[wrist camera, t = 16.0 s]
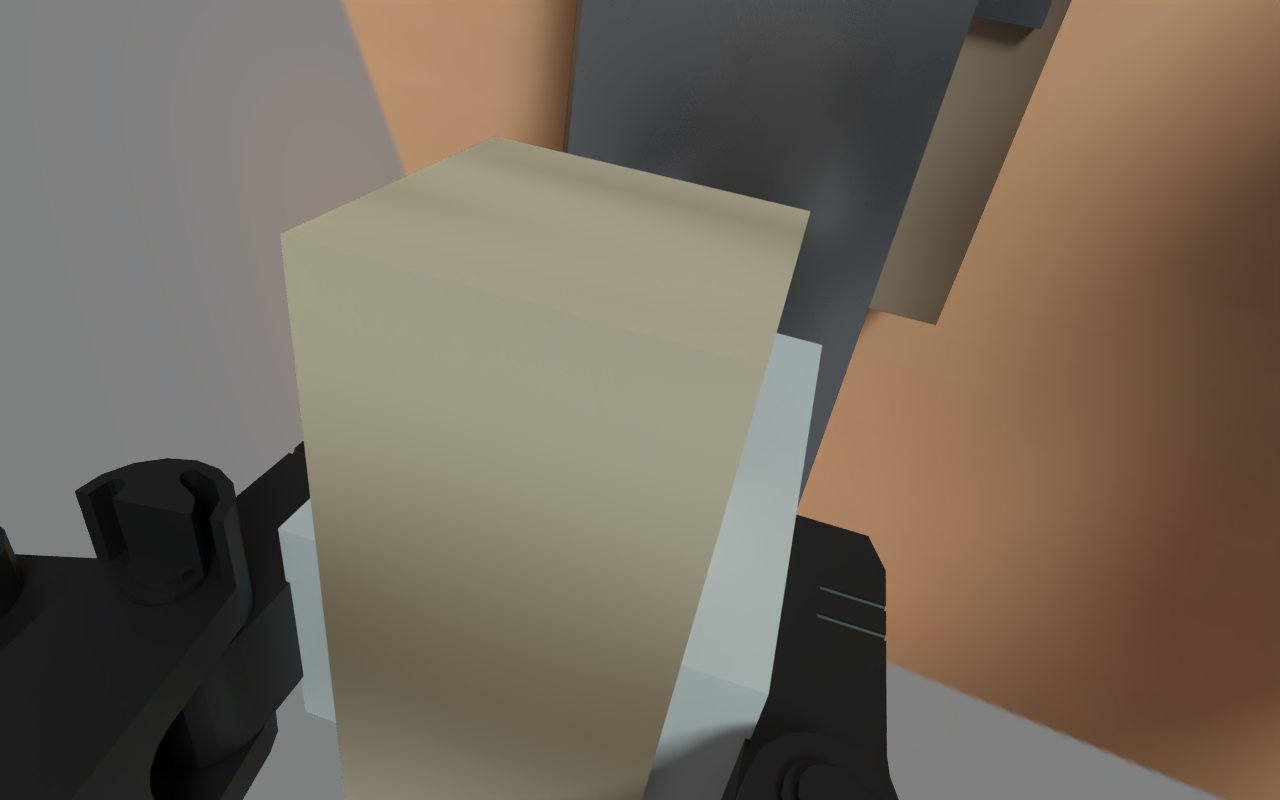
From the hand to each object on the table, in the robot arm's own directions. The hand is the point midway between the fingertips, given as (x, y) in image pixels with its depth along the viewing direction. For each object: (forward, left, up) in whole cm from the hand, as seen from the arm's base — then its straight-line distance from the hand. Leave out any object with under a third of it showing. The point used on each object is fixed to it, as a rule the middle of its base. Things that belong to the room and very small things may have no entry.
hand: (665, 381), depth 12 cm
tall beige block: (0, -1, -3) cm, 3 cm away
